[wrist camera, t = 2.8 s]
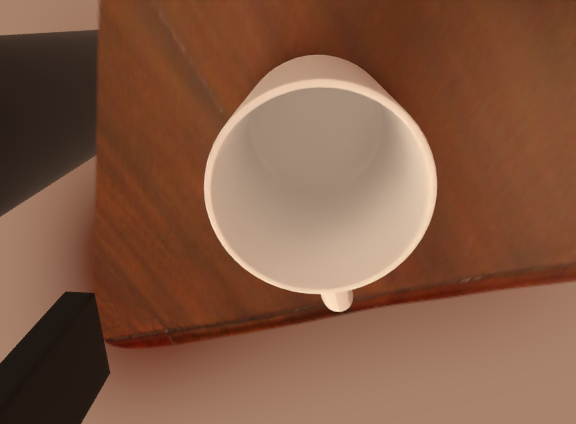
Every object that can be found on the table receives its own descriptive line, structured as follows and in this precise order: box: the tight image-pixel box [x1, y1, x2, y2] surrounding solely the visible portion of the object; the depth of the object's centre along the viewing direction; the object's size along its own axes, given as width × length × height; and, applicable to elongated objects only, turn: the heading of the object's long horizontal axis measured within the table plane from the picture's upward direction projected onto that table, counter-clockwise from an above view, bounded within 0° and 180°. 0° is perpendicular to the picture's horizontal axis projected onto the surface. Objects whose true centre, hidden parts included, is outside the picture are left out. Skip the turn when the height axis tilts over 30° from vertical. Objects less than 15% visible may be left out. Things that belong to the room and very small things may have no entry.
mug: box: [204, 55, 437, 312], centre depth 20 cm, size 12×8×10 cm
